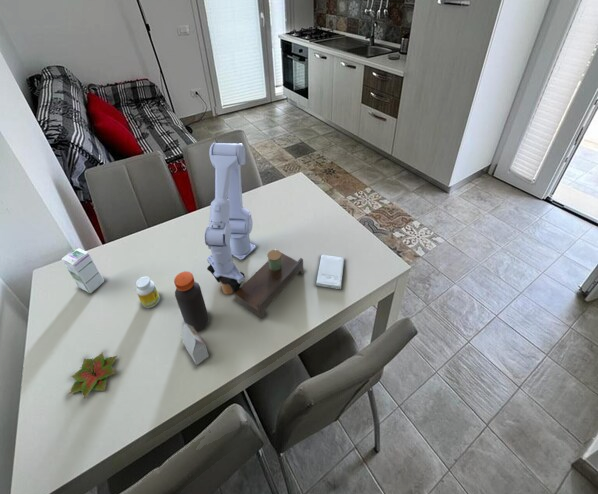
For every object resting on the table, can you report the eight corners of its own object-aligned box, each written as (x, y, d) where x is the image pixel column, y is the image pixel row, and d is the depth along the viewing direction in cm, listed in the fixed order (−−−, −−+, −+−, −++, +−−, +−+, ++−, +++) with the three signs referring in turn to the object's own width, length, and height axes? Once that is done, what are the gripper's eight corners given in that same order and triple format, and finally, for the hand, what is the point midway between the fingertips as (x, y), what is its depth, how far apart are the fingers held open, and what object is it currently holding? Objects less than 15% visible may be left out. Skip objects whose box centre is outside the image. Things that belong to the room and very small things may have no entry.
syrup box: (105, 281, 113) (89, 251, 105) (89, 294, 109) (72, 264, 100) (93, 275, 115) (77, 246, 107) (78, 288, 111) (60, 258, 103)
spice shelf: (235, 300, 106) (233, 287, 102) (278, 257, 121) (277, 245, 117) (261, 318, 100) (259, 306, 97) (303, 271, 115) (303, 259, 112)
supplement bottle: (141, 297, 107) (132, 278, 102) (158, 291, 109) (151, 272, 104) (142, 311, 103) (133, 291, 98) (160, 304, 105) (153, 284, 100)
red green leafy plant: (109, 398, 83) (102, 389, 80) (59, 403, 82) (51, 394, 80) (126, 350, 93) (121, 341, 90) (82, 354, 92) (75, 345, 90)
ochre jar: (219, 290, 109) (216, 279, 106) (229, 280, 112) (227, 269, 109) (228, 297, 107) (226, 286, 104) (238, 287, 110) (237, 276, 107)
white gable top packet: (196, 365, 89) (189, 345, 84) (185, 347, 94) (177, 326, 88) (208, 356, 91) (202, 335, 86) (197, 338, 96) (190, 318, 90)
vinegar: (188, 336, 96) (172, 293, 85) (183, 317, 101) (168, 274, 90) (211, 326, 99) (199, 282, 88) (205, 308, 104) (193, 265, 93)
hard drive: (343, 260, 119) (340, 289, 109) (321, 257, 120) (316, 285, 110) (344, 257, 118) (341, 286, 108) (321, 254, 119) (316, 282, 109)
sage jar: (265, 267, 112) (264, 255, 109) (274, 258, 116) (273, 247, 112) (276, 273, 110) (275, 262, 107) (284, 264, 113) (283, 253, 110)
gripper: (196, 254, 102) (204, 283, 110) (229, 276, 95) (235, 305, 103) (214, 241, 107) (220, 269, 115) (246, 261, 100) (251, 289, 107)
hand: (228, 285), depth 109 cm, fingers open, 7 cm apart
